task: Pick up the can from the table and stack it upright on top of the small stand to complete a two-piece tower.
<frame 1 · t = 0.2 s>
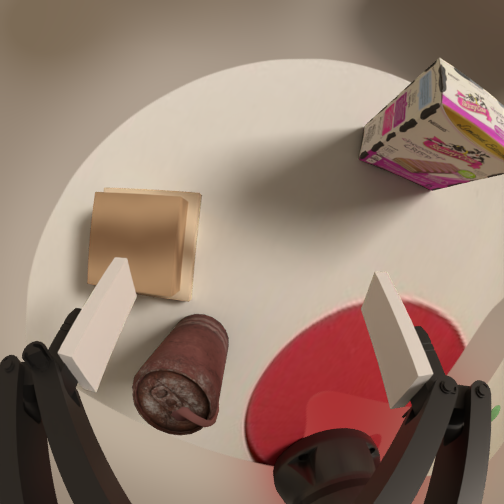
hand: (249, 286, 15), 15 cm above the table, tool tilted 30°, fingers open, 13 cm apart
toy pieces: (478, 428, 32), on the table
can: (202, 339, 30), on the table
candy bar box: (399, 160, 30), on the table
stand: (147, 242, 30), on the table
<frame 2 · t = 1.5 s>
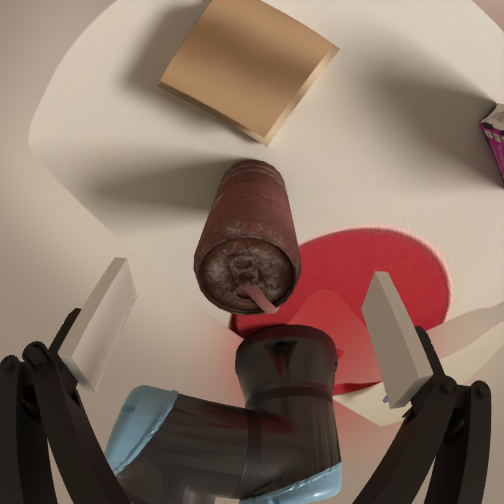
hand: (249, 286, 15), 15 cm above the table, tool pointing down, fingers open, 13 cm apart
can: (253, 189, 27), on the table
candy bar box: (502, 149, 22), on the table
stand: (247, 62, 21), on the table
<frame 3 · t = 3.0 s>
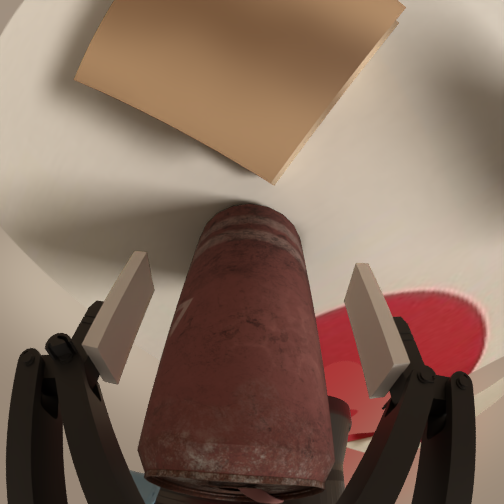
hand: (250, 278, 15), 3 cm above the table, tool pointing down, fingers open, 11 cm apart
can: (252, 245, 18), on the table
stand: (241, 38, 11), on the table
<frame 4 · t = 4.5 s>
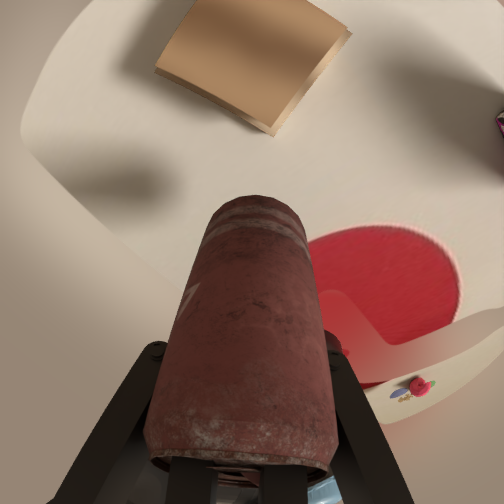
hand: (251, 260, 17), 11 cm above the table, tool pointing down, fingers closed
toy pieces: (411, 387, 48), on the table
can: (257, 236, 18), point 8 cm above the table, touching hand
stand: (252, 46, 18), on the table
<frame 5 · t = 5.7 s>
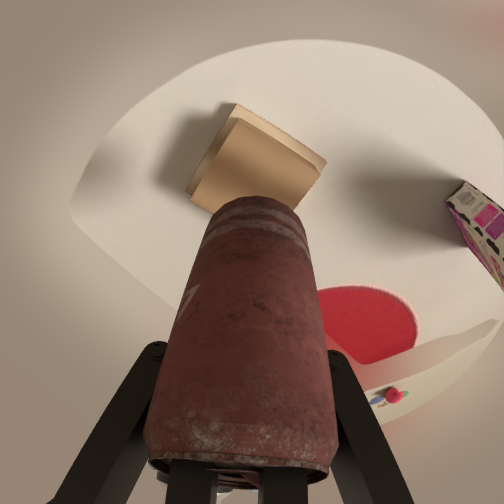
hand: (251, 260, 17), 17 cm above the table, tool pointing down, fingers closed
toy pieces: (387, 396, 59), on the table
can: (257, 236, 18), point 15 cm above the table, touching hand
candy bar box: (466, 216, 32), on the table
stand: (254, 171, 31), on the table
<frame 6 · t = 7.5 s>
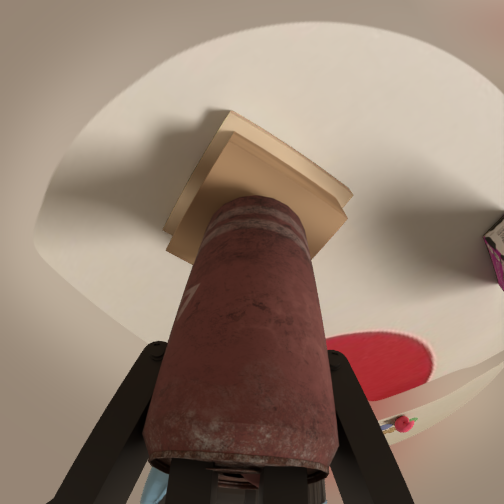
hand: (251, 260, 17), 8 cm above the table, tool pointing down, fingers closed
toy pieces: (395, 422, 52), on the table
can: (257, 236, 18), point 6 cm above the table, touching hand
candy bar box: (501, 251, 25), on the table
stand: (254, 203, 23), on the table
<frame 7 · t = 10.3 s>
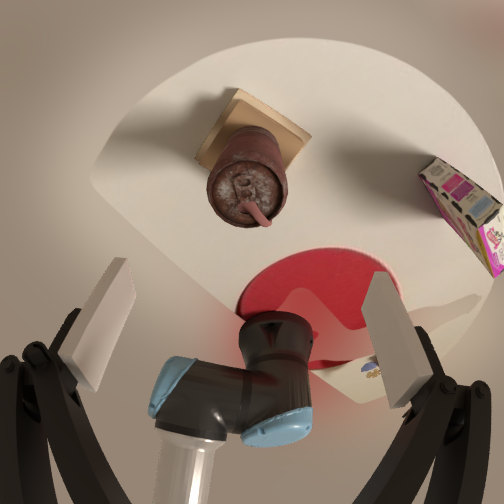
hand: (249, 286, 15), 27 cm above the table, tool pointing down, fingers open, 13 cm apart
toy pieces: (379, 364, 65), on the table
can: (253, 150, 32), point 5 cm above the table, touching stand
candy bar box: (440, 189, 38), on the table
stand: (252, 143, 36), on the table
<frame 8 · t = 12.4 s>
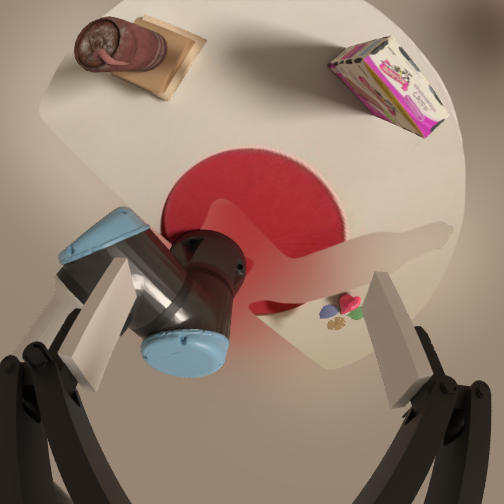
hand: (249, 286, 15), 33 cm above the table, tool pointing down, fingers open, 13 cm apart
toy pieces: (341, 310, 61), on the table
can: (148, 52, 30), point 5 cm above the table, touching stand
candy bar box: (360, 82, 35), on the table
stand: (158, 56, 34), on the table
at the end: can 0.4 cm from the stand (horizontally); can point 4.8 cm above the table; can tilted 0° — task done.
